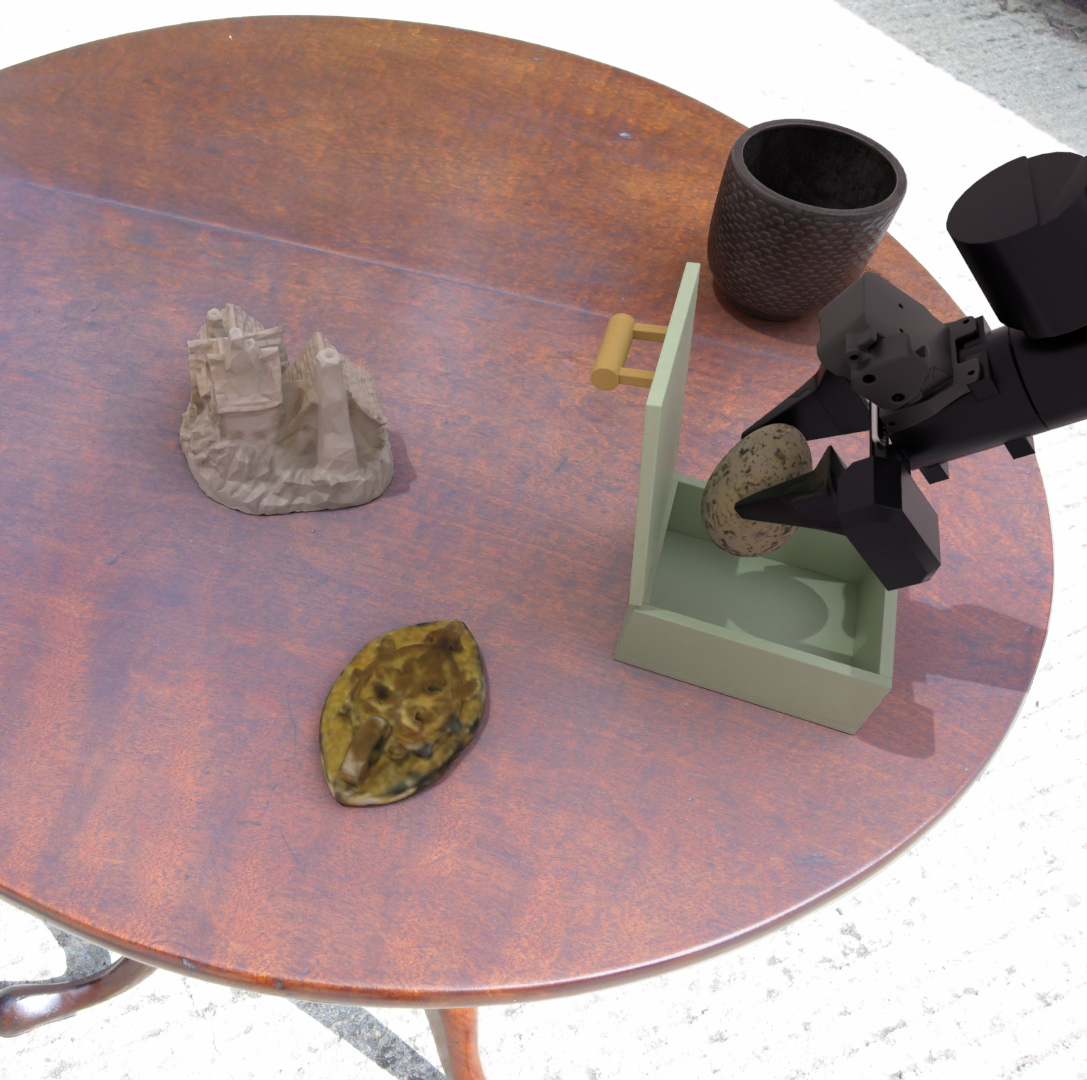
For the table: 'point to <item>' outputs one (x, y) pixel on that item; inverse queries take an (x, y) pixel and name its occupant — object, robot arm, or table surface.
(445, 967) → the table surface
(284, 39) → the table surface
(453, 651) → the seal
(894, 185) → the planter
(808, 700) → the chest
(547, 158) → the table surface
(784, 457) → the decorative egg
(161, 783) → the table surface
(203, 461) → the ceramic cottage
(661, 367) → the chest lid
